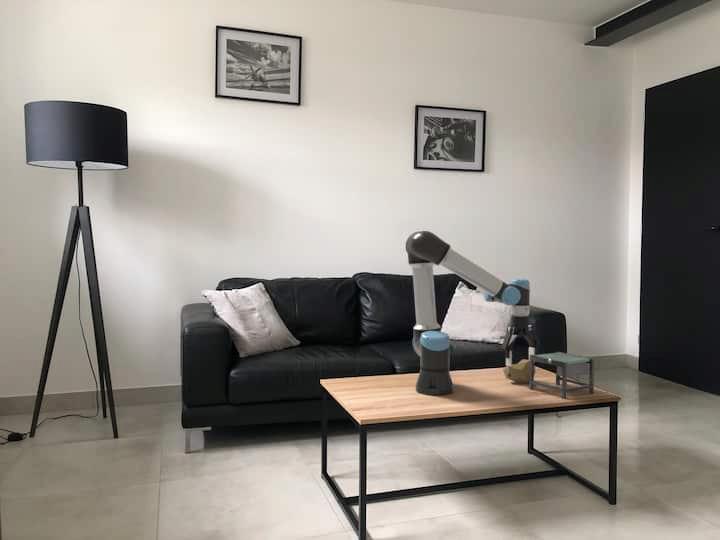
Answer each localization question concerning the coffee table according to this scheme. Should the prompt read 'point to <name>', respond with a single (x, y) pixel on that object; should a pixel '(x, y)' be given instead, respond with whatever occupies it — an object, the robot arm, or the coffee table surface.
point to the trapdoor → (569, 363)
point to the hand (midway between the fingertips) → (520, 364)
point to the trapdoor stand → (564, 376)
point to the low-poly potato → (518, 371)
